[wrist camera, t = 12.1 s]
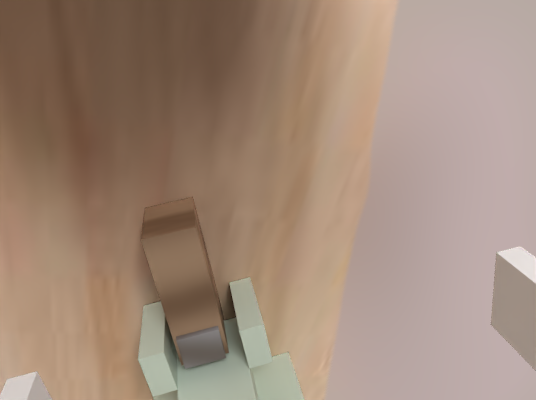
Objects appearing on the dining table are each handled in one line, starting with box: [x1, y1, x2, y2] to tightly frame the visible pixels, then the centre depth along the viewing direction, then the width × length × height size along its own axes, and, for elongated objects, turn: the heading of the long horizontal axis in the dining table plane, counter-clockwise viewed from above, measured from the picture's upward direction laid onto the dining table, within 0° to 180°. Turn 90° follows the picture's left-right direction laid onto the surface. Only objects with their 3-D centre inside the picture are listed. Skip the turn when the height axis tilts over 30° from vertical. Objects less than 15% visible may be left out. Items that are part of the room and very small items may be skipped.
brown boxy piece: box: [141, 197, 229, 369], centre depth 37 cm, size 12×4×6 cm, turn 10°
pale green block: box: [138, 277, 304, 400], centre depth 37 cm, size 12×14×14 cm
